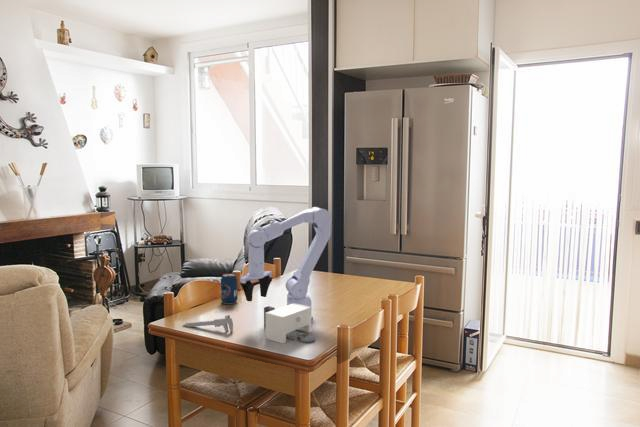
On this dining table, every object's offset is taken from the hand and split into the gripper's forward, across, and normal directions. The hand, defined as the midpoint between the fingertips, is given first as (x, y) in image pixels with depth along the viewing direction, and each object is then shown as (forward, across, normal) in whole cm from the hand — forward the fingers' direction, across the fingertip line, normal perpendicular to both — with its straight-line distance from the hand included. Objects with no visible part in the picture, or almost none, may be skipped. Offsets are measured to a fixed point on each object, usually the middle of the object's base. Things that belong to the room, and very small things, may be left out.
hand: (256, 298), depth 183 cm
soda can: (+10, -14, -29) cm, 34 cm away
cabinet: (+9, +2, +18) cm, 20 cm away
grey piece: (+9, +2, +15) cm, 18 cm away
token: (+10, +2, +26) cm, 28 cm away
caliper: (+10, +15, -10) cm, 21 cm away
